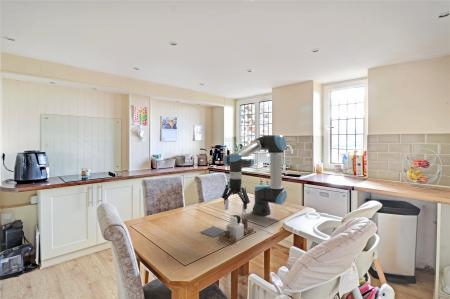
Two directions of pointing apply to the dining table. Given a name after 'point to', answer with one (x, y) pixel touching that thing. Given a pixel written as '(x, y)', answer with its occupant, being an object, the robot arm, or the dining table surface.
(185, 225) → the dining table surface
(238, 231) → the container
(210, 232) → the plate
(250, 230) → the pair of wooden stands
